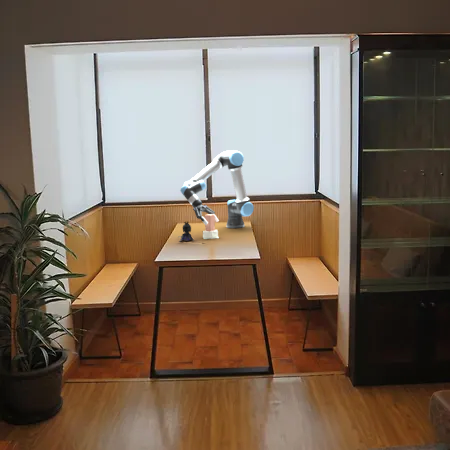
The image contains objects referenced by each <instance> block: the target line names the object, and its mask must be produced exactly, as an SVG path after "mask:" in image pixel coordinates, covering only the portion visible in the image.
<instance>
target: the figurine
mask: <svg viewBox="0 0 450 450" xmlns="http://www.w3.org/2000/svg"><path fill="white" fill-rule="evenodd" d="M183 223H184V224H183V225H182V231H183V233H182V235H181V236H177V238H180V240H179V243H181V242H182V241H185V242H186V241H187V242H189V241H191V240H192V241H194V239H193V237H192V235H191V232H192V226H191V224H190V222H189V221H185V222H183Z"/></svg>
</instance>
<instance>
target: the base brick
mask: <svg viewBox="0 0 450 450" xmlns="http://www.w3.org/2000/svg"><path fill="white" fill-rule="evenodd" d="M215 237H219V231H218V229H215V230H214V231H206V229H205V230H203V231H202V238H203V239H204V238H212V239H216V238H215Z"/></svg>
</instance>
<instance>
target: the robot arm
mask: <svg viewBox="0 0 450 450" xmlns="http://www.w3.org/2000/svg"><path fill="white" fill-rule="evenodd" d="M244 158H245V157H244V155H243V153H242V152H241V151H238V150H226V151H223V152H221V153H220V154H218V155H217V156H216V157H214V158H213V161H212V162H211V163H209V164H208V165H207V166H206V167H204V168H203V169H202V170H201V171H200V172H199V173H197V174H196V175H195V176H194V177H192V178H191V179H189V180H187V181H185V182H184V183H183V186H182V187H181V188H180V190H179V191H180V193H181V194H182V196H183V197H184V198H185V200H187V201H188V202H189V204H190V205H191V206H192V208H193V209H192V210H193V212H194V213H195V217H196V219H198V220H200V221H202V222H203V224H204V226H205V225H207V224H208V222H207V221H206V219H205V216H202V215H203V213H207V215H208V214H214V221H215V223H218V222H219V221H220V220H219V218H218V217H217V215H216V214H215V213H216V212H215V211H214V210H213V209H212V208H211V207H209V206H208V205H206V204H203V202H202V200H201V199H200V198H199V196H197V194H198V193H199V194H200V192H202V191H204V190H205V189H206V188H207V183H206V182H205V181H206V180H207V179H209V178H210V177H211V176H212V175H213V174H214V173H216V171H218V170H219V169H223V168H224V167H227V169H228V170H229V171H230V173H231V174H230V175H231V179H232V184H233V187H234V188H233V189H234V193H235V198H236V199H230V200H228V201H227V216H228V217H227V220H226V221H227V222H226V228H228V229H240V228H245V222H244V220H243V217H250V216H251V215H252V214H253V212H254V209H255V207H254V204H253V203H252V202H251V201H250V198H249V197H248V195H247V191H246V186H245V182H244V175H243V172H242V171H243V170H242V168H243V163H244Z"/></svg>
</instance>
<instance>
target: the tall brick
mask: <svg viewBox="0 0 450 450" xmlns="http://www.w3.org/2000/svg"><path fill="white" fill-rule="evenodd" d="M214 214H215V213H214ZM214 214H208V213H207V214H205V215H204V218H205V219H206V221H207V222H208V224H207V225H205V224H204V226H205V230H206V231H214V230H216V227H215V225H216V224H215V223H216V221H215V220H214Z"/></svg>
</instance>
